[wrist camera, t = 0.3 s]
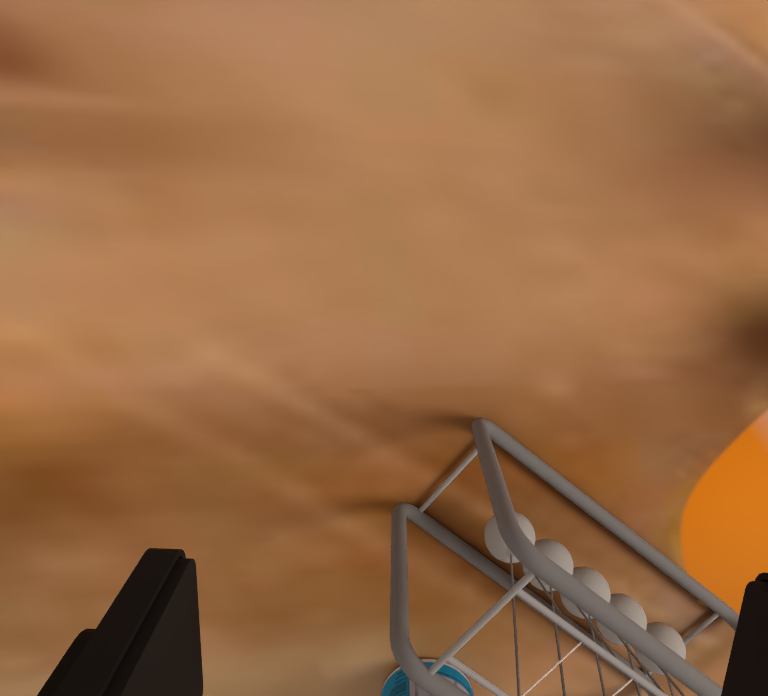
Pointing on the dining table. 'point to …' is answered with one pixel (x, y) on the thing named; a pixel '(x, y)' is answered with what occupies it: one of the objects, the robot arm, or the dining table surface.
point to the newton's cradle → (548, 585)
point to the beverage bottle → (403, 692)
